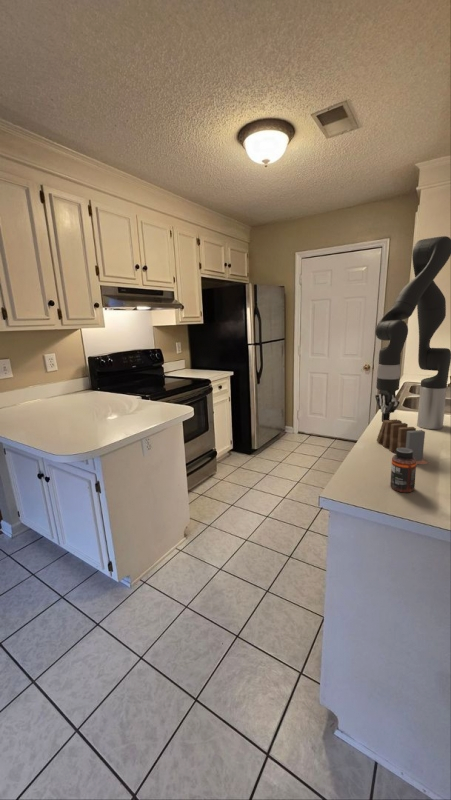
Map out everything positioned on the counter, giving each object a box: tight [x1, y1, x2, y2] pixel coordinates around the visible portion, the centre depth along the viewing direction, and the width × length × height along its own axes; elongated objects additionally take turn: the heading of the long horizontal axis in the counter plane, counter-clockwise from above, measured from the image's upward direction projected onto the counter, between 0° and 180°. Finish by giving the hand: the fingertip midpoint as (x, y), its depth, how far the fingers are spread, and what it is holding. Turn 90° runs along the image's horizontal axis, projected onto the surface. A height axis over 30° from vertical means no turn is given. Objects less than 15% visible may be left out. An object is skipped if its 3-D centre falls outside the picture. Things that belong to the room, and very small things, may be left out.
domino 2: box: [382, 419, 403, 449], centre depth 119 cm, size 2×5×10 cm, turn 94°
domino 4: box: [397, 426, 417, 448], centre depth 110 cm, size 2×5×10 cm, turn 94°
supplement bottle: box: [389, 448, 417, 493], centre depth 90 cm, size 6×6×11 cm
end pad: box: [416, 459, 428, 465], centre depth 107 cm, size 5×6×1 cm
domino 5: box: [406, 429, 426, 461], centre depth 106 cm, size 2×5×10 cm, turn 94°
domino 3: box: [388, 422, 409, 453], centre depth 115 cm, size 2×5×10 cm, turn 94°
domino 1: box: [376, 418, 398, 444], centre depth 122 cm, size 2×5×10 cm, turn 94°
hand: (385, 422), depth 122 cm, fingers closed
